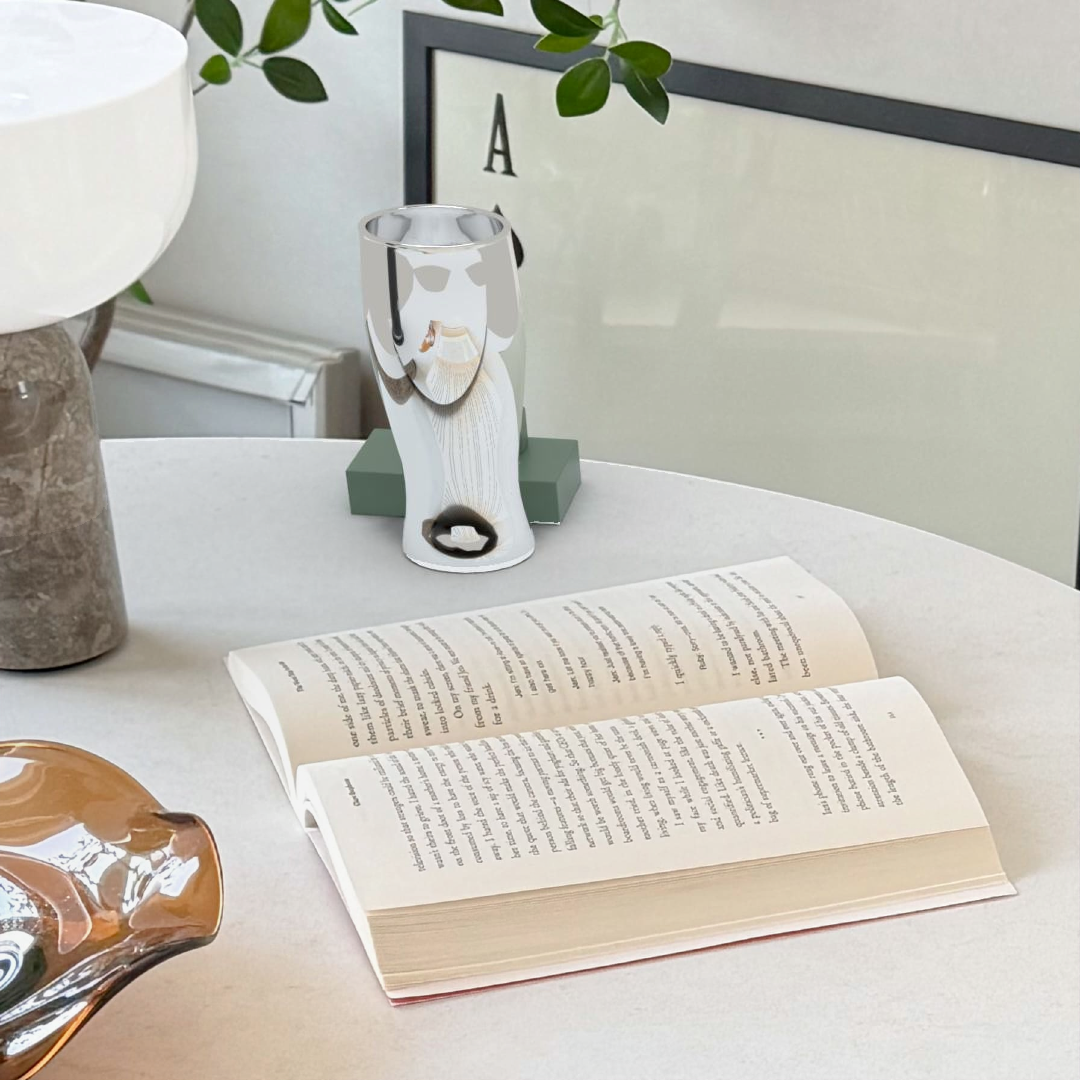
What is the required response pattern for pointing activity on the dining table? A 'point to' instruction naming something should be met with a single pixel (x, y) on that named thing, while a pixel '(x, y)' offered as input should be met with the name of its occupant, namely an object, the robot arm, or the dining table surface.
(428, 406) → the beer glass
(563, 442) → the green block
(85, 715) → the dining table surface
